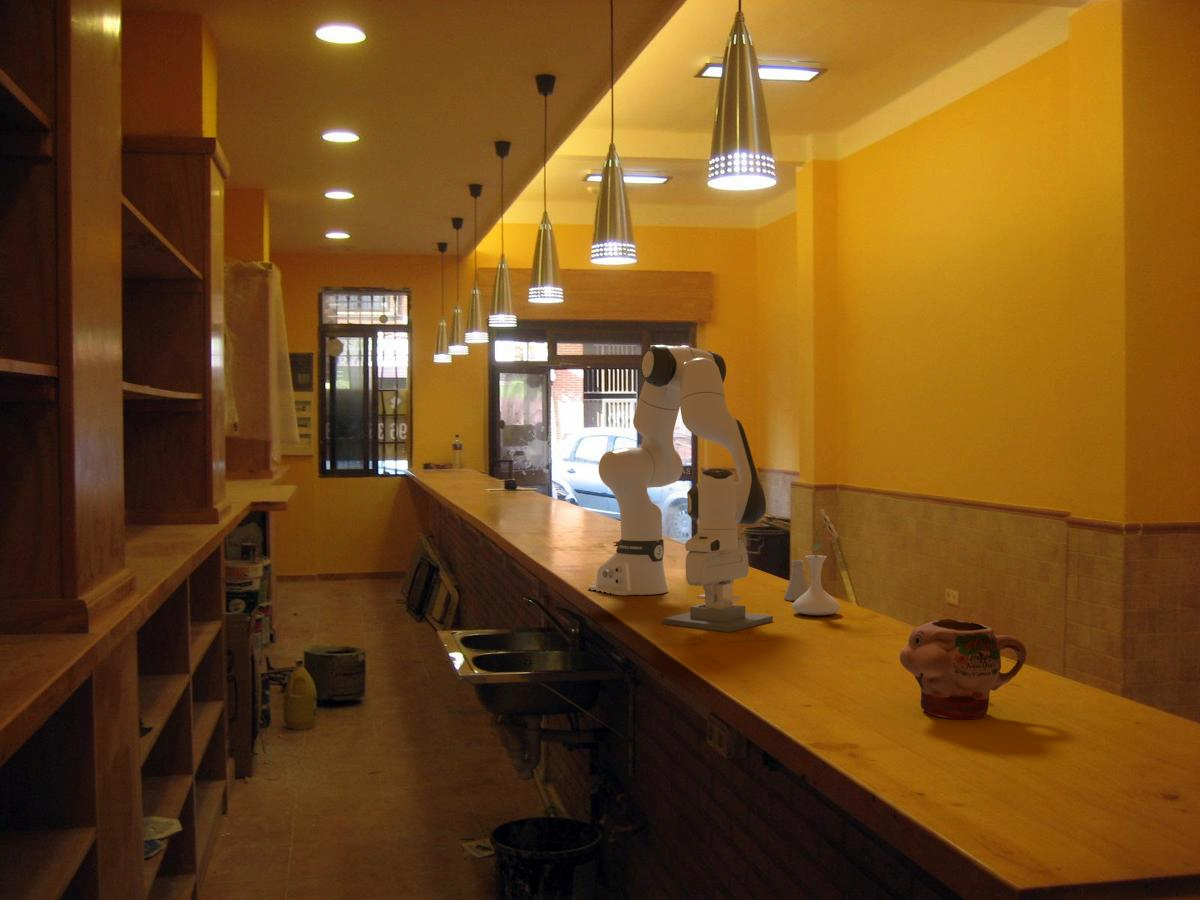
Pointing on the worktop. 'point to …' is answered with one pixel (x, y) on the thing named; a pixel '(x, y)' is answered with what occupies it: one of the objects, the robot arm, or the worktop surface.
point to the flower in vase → (817, 582)
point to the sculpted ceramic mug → (958, 666)
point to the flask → (796, 582)
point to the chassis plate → (718, 618)
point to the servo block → (721, 596)
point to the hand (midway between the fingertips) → (718, 601)
